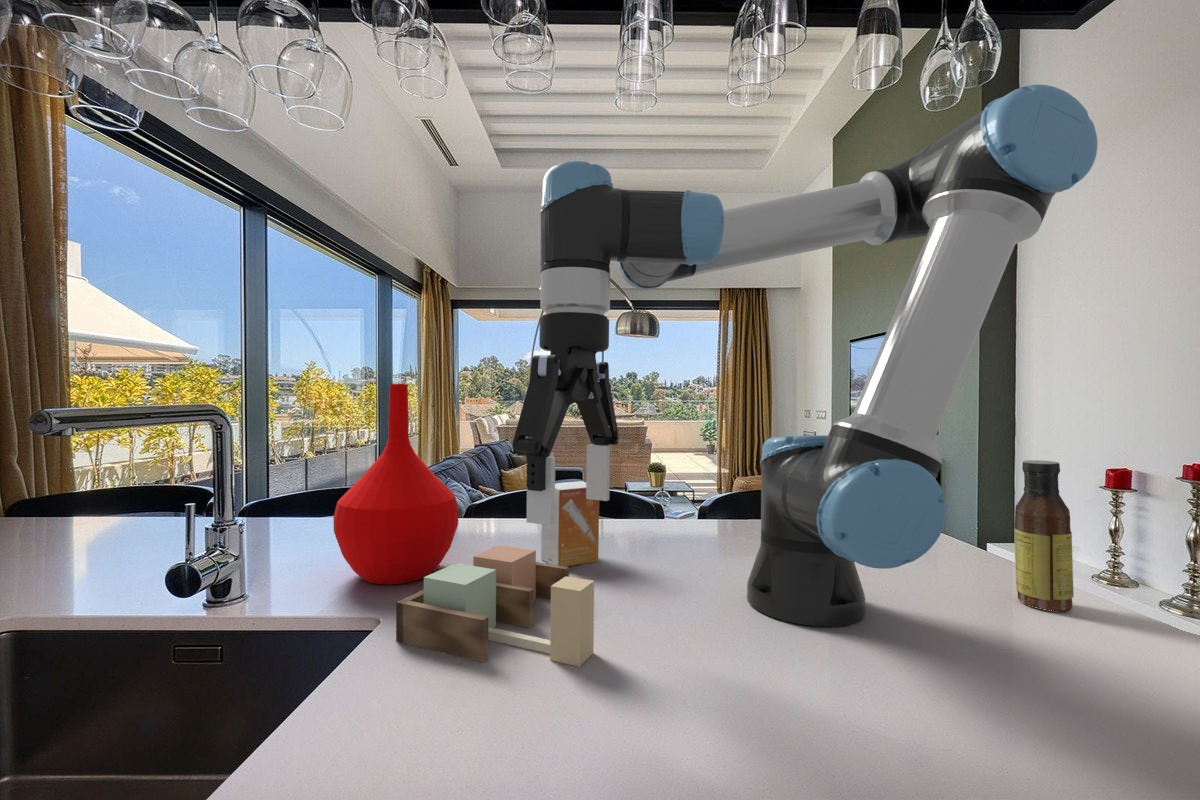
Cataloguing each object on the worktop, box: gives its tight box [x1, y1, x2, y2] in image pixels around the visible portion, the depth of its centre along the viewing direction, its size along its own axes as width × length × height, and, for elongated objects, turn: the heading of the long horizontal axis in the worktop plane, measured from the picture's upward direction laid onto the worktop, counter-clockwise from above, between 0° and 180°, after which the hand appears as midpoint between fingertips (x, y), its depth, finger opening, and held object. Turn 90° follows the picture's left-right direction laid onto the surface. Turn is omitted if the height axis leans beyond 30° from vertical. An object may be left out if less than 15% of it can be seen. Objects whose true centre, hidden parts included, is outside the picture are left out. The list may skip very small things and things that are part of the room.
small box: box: [540, 480, 600, 567], centre depth 95 cm, size 8×6×13 cm
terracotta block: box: [472, 544, 537, 602], centre depth 76 cm, size 6×6×7 cm
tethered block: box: [423, 562, 595, 668], centre depth 64 cm, size 20×6×8 cm, turn 66°
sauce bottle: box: [1014, 459, 1075, 613], centre depth 77 cm, size 7×6×20 cm
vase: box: [332, 383, 459, 585], centre depth 87 cm, size 18×18×30 cm
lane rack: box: [395, 561, 570, 663], centre depth 71 cm, size 12×20×4 cm, turn 156°
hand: (571, 510), depth 61 cm, fingers open, 13 cm apart
